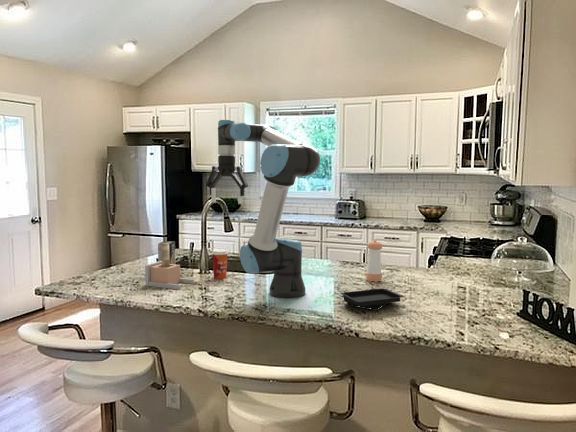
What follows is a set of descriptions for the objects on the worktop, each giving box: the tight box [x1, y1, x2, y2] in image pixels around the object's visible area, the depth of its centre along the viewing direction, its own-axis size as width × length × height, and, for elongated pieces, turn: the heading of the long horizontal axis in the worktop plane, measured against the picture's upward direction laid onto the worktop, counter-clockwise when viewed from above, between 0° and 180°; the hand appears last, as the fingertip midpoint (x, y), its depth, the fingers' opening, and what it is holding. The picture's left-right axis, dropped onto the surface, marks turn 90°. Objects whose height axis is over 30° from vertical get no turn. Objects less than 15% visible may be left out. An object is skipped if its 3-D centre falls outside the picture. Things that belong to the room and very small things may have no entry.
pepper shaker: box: [365, 239, 383, 282], centre depth 222 cm, size 7×7×19 cm
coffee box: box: [157, 240, 176, 264], centre depth 231 cm, size 9×6×16 cm
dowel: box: [160, 242, 170, 268], centre depth 208 cm, size 3×3×14 cm
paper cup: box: [211, 248, 229, 280], centre depth 221 cm, size 8×8×14 cm
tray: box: [340, 288, 404, 310], centre depth 182 cm, size 30×23×5 cm
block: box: [151, 263, 181, 285], centre depth 208 cm, size 9×9×8 cm
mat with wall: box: [144, 260, 195, 290], centre depth 211 cm, size 19×20×10 cm
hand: (226, 202), depth 212 cm, fingers open, 13 cm apart
